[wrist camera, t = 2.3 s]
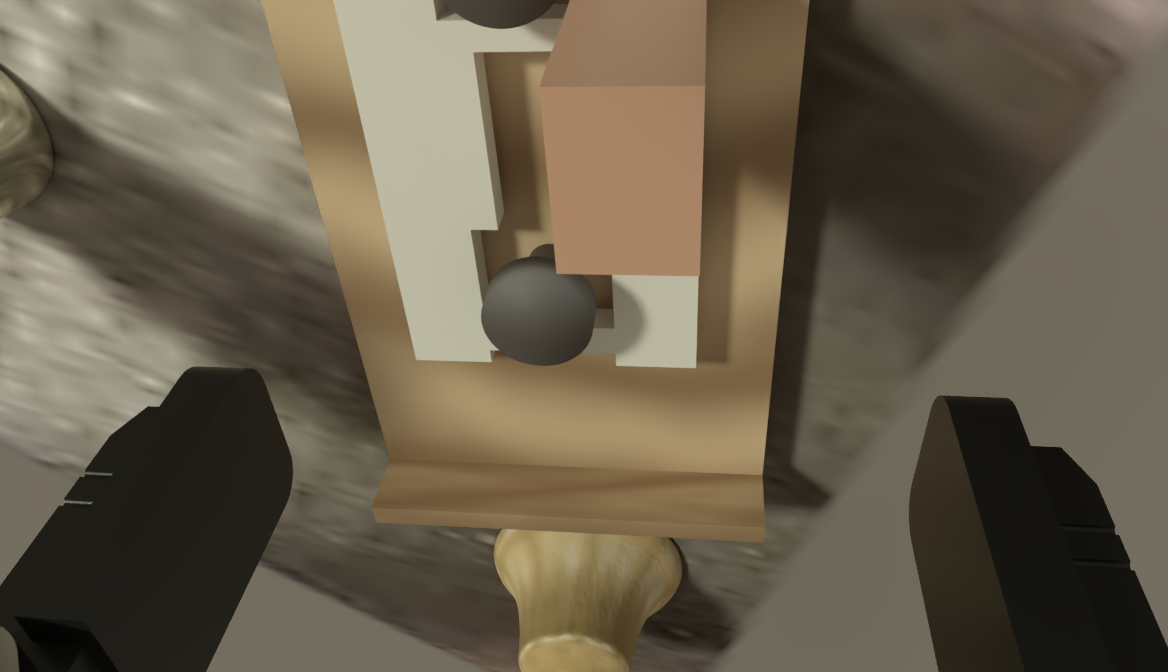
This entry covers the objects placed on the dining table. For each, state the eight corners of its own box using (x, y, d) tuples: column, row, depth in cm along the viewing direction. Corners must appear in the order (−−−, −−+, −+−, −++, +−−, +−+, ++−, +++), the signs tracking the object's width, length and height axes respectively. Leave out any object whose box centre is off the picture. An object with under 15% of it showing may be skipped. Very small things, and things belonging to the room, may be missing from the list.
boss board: (152, -512, 18) (23, -536, 15) (857, -579, 17) (895, -624, 13) (404, 445, 36) (371, 535, 33) (759, 460, 34) (764, 556, 31)
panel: (231, -532, 17) (-106, -622, 10) (721, -581, 16) (727, -720, 9) (423, 340, 30) (337, 563, 23) (696, 347, 29) (691, 584, 22)
